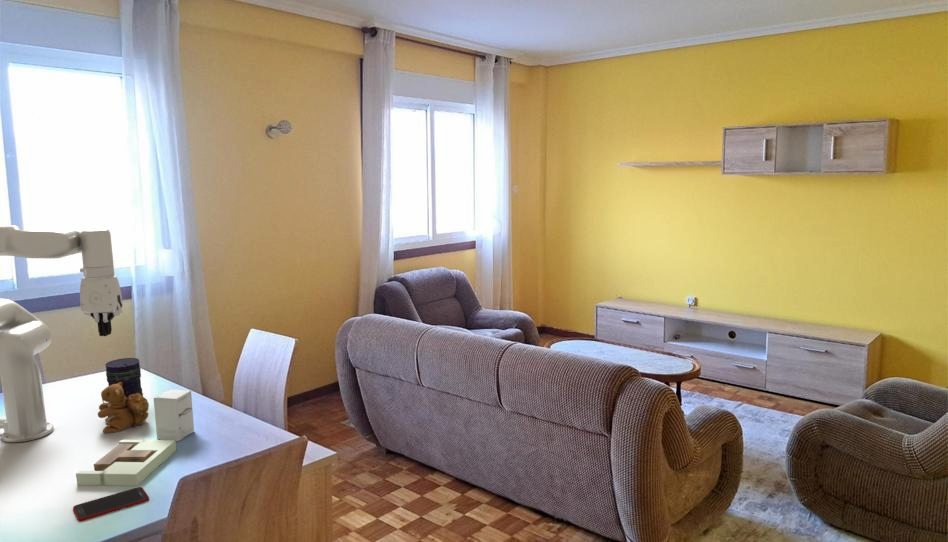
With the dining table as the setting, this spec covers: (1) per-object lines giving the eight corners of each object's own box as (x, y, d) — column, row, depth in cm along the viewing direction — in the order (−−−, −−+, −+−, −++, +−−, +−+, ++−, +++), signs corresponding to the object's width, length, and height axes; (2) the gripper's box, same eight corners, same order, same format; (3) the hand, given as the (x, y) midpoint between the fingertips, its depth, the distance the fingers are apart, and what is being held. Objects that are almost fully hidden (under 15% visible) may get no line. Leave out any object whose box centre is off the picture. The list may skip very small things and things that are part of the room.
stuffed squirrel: (104, 422, 205) (99, 380, 203) (154, 416, 209) (151, 376, 207) (96, 434, 196) (91, 391, 193) (149, 429, 200) (145, 386, 197)
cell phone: (72, 510, 154) (71, 506, 154) (141, 489, 163) (141, 486, 163) (78, 523, 148) (78, 519, 148) (150, 501, 158) (150, 498, 157)
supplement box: (179, 441, 190) (175, 399, 188) (156, 439, 192) (152, 397, 190) (195, 431, 197) (191, 390, 195) (172, 429, 199) (169, 388, 197)
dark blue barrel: (106, 406, 218) (101, 362, 215) (138, 399, 224) (134, 356, 222) (114, 415, 211) (109, 369, 208) (148, 407, 217) (143, 362, 215)
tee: (95, 477, 169) (93, 464, 169) (120, 456, 181) (118, 444, 181) (138, 476, 169) (137, 463, 169) (161, 455, 181) (159, 443, 181)
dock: (77, 484, 165) (75, 473, 165) (122, 450, 185) (121, 439, 185) (136, 485, 165) (135, 474, 164) (176, 450, 184) (175, 440, 184)
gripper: (65, 274, 188) (72, 338, 191) (116, 274, 187) (122, 338, 190) (82, 269, 195) (88, 331, 198) (132, 270, 194) (137, 332, 197)
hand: (105, 334), depth 194 cm, fingers closed
